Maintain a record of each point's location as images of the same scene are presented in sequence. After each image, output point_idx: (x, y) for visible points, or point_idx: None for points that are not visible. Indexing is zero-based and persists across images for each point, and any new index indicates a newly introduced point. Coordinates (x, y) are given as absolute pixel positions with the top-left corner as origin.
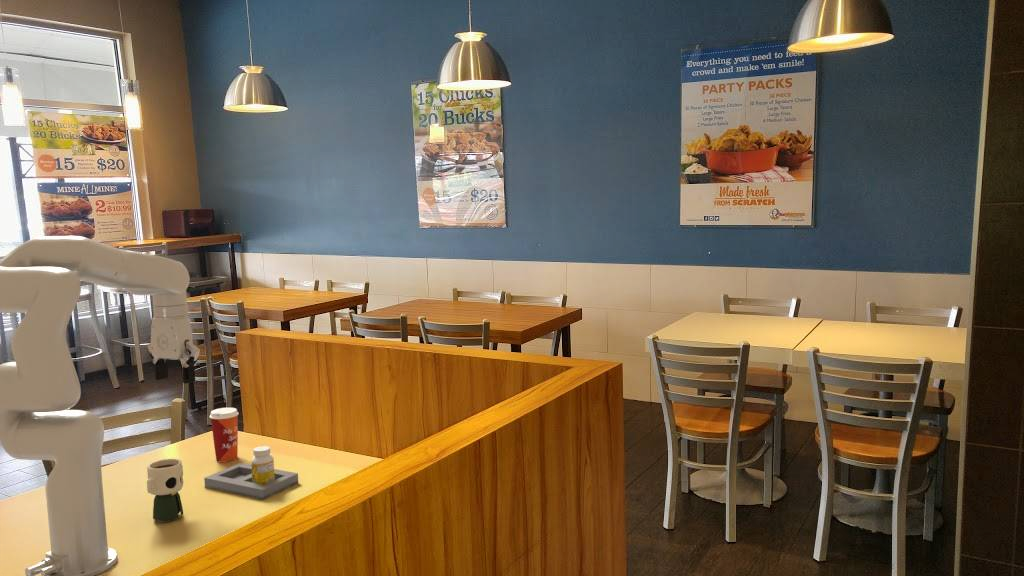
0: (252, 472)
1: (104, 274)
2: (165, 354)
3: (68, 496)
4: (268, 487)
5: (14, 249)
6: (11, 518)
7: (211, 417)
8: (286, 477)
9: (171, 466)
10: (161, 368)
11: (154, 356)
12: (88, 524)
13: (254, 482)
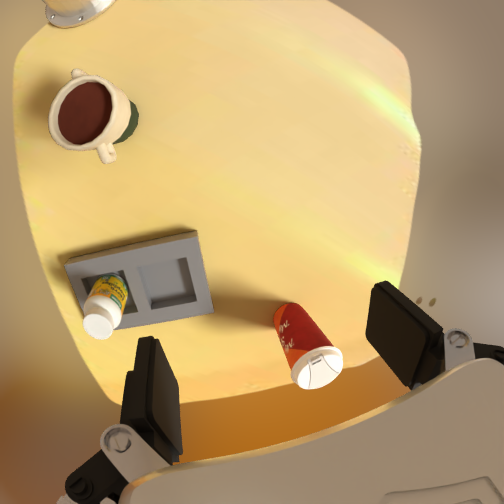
0: (106, 286)
1: None
2: (335, 474)
3: None
4: (68, 276)
5: None
6: (343, 12)
7: (324, 348)
8: None
9: (49, 116)
10: (402, 342)
11: (466, 366)
12: None
13: (105, 277)
